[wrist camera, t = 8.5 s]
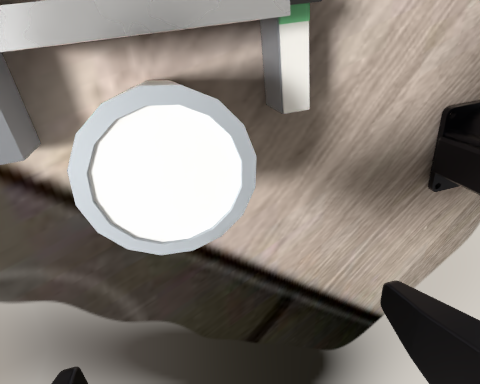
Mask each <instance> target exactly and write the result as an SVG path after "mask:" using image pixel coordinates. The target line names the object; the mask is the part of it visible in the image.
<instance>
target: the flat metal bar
mask: <svg viewBox="0 0 480 384" xmlns="http://www.w3.org/2000/svg"><path fill="white" fill-rule="evenodd" d="M320 1H322V0H46V1H36V2H26V3H17V4H7V5H0V53H2V52H10V51H18V50H26V49H34V48H42V47H49V46H57V45H65V44H73V43H81V42H89V41H97V40H105V39H113V38H121V37H128V36H136V35H144V34H152V33H160V32H168V31H176V30H184V29H192V28H199V27H207V26H215V25H223V24H231V23H239V22H247V21H255V20H262V19H269V18H276V17H283V16H290V5H297V4H305V3H313V2H320Z"/></svg>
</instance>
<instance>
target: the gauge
mask: <svg viewBox="0 0 480 384" xmlns="http://www.w3.org/2000/svg"><path fill="white" fill-rule="evenodd" d="M309 21H310V3H305V4H297V5H290V16H283V17H276V18H269V19H262V20H260V26H261V40H262V54H263V68H264V82H265V96H266V105H268V106H270V107H271V108H273V109H275V110H276V111H278V112H280V113H281V114H282V113H284V114H287V113H292V112H298V111H303V110H309V109H310V39H309ZM40 144H41V143H40V140H39V138H38V136H37V133H36V131H35V129H34V126H33V124H32V122H31V120H30V117H29V115H28V113H27V110H26V108H25V106H24V103H23V101H22V99H21V96H20V94H19V92H18V89H17V87H16V85H15V82H14V80H13V78H12V76H11V73H10V71H9V69H8V66H7V64H6V62H5V59H4V57H3V55H2V53H0V165H2V164H7V163H13V162H18V161H24V160H25V159H26V158H27V157H28V156H29V155H30V154H31V153H32V152H33V151H34V150H35V149H36V148H37V147H38V146H39V145H40Z"/></svg>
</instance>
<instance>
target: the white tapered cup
mask: <svg viewBox="0 0 480 384" xmlns="http://www.w3.org/2000/svg"><path fill="white" fill-rule="evenodd" d="M67 172H68V176H69V180H70V184H71V188H72V192H73V196H74V200H75V204H76V206H77V207H78V209H79V210H80V211H81V212H82V214H83V215H84V216H85V217H86V219H87V220H88V221H89V222H90V224H91V225H92V226H93V227H94V228H95V230H96V231H97V232H98V233H100V234H101V235H103V236H105V237H107V238H108V239H110V240H112V241H114V242H116V243H117V244H119V245H121V246H123V247H124V248H126V249H129V250H135V251H140V252H146V253H151V254H157V255H165V254H172V253H179V252H186V251H193V250H195V249H197V248H199V247H201V246H203V245H205V244H207V243H209V242H211V241H213V240H215V239H217V238H219V237H221V236H222V235H223V234H224V233H225V232H226V231H227V230H228V229H229V228H230V227H231V226H232V225H233V224H234V223H235V222H236V221H237V220H238V219H239V218H240V217H241V216H242V215H243V213H244V211H245V209H246V207H247V205H248V202H249V200H250V198H251V196H252V194H253V191H254V189H255V183H256V154H255V151H254V149H253V146H252V143H251V141H250V138H249V136H248V133H247V131H246V128H245V126H244V124H243V123H242V122H241V121H240V120H239V119H238V118H237V117H235V116H234V115H233V114H232V113H231V112H230V111H229V110H228V109H227V108H226V107H225V106H224V105H223V104H222V103H221V102H220V101H219V100H218V99H216V98H213V97H211V96H208V95H206V94H203V93H201V92H198V91H195V90H193V89H190V88H188V87H185V86H183V85H180V84H178V83H175V82H173V81H170V80H147V81H145V82H143V83H141V84H138V85H136V86H134V87H132V88H130V89H128V90H126V91H124V92H122V93H120V94H118V95H116V96H114V97H113V98H111V99H109V100H107V101H105V102H103V103H101V104H100V106H99V107H98V108H97V109H96V110H95V112H94V113H93V114H92V115H91V116H90V118H89V119H88V120H87V121H86V122H85V124H84V125H83V126H82V127H81V128H80V129H79V131H78V132H77V133H76V135H75V139H74V143H73V148H72V152H71V156H70V161H69V165H68V169H67Z"/></svg>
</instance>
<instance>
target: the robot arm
mask: <svg viewBox="0 0 480 384" xmlns="http://www.w3.org/2000/svg"><path fill="white" fill-rule="evenodd" d="M450 113H451V115H450ZM458 186H462V187H464V188H466V189H468V190H470V191H472V192H474V193H477V194H479V195H480V100H479V101H474V102H469V103H464V104H459V105H454V106H449V107H447V108H446V109H445V110H444V111H443V113H442V117H441V122H440V127H439V132H438V137H437V143H436V148H435V153H434V158H433V163H432V169H431V174H430V179H429V184H428V188H429V189H430V190H432V191H434V192H438V191H442V190H446V189H450V188H454V187H458ZM381 307H382V309H383V311H384V313H385V315H386V316H387V318H388V320H389V322H390V323H391V325H392V327H393V329H394V330H395V332H396V334H397V335H398V337H399V339H400V341H401V342H402V344H403V346H404V347H405V349H406V350H407V352H408V354H409V356H410V357H411V359H412V360H413V362H414V363H415V364H416V366H417V367H418V369H419V370H420V371H421V373H422V374H423V376H424V377H425V378H426V380H427V381H428V383H429V384H480V320H478V319H476V318H473V317H471V316H469V315H467V314H465V313H463V312H461V311H459V310H457V309H455V308H453V307H451V306H449V305H447V304H445V303H443V302H441V301H438V300H437V299H434V298H433V297H430V296H428V295H426V294H424V293H422V292H420V291H418V290H416V289H414V288H412V287H410V286H408V285H406V284H404V283H402V282H400V281H391V282H387V283H385V284H384V285H383V289H382V296H381ZM52 384H88V382H87V380H86V379H85V377H84V375H83V373H82V371H81V369H80V368H79V367H73V368H69V369H65V370H63V371H61V372H60V373H59V374H58V375H57V377H56V378H55V380H54V381H53V383H52Z"/></svg>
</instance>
